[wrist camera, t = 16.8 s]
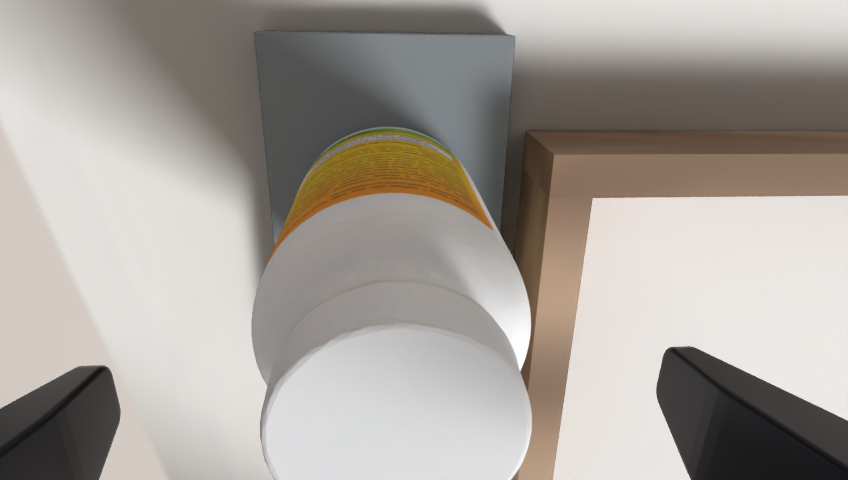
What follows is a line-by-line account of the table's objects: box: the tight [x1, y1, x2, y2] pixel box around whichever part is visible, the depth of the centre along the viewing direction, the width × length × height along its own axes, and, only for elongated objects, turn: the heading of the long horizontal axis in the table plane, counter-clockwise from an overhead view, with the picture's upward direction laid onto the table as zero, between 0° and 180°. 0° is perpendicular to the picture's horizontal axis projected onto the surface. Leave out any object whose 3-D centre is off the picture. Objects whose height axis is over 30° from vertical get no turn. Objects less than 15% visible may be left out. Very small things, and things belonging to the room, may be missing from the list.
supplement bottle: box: [252, 127, 532, 480], centre depth 13 cm, size 5×5×10 cm
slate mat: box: [254, 31, 515, 245], centre depth 17 cm, size 10×7×1 cm
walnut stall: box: [511, 130, 848, 480], centre depth 20 cm, size 14×22×3 cm, turn 89°
